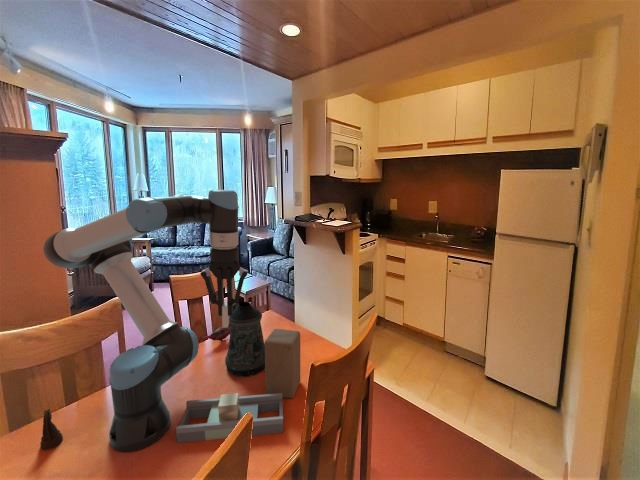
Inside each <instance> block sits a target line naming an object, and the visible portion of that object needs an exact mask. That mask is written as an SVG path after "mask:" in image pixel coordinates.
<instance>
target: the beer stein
mask: <svg viewBox="0 0 640 480" xmlns="http://www.w3.org/2000/svg"><path fill="white" fill-rule="evenodd" d="M262 318H263V313H262V312H261V311H260V310H259V309H257V308H256V307H255V306H253V305H251V303H250V302H249V301H241V302H238V303H236V304H233V312H232V315H231V316H229V321H230V325H231V330H230V334H229V338H228V348H227V353H226V356H225V360H224V363H225V366H226V370H227V372H228V373H229V374H231V375H232V376H235V377H238V378H245V377H246V378H247V377H248V378H249V377H251V376H257V375H258V374H259V373H262V372H263V371H265V340H264V336H263V335H264V333H263V330H262V329H263V328H262V324H261V323H262V322H261V321H262Z"/></svg>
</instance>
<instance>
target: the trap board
mask: <svg viewBox="0 0 640 480" xmlns="http://www.w3.org/2000/svg"><path fill="white" fill-rule="evenodd" d="M220 398H221V397H216V398H215V397H214V398H205V399H194V400H193V399H191V400H186V403H185V404H186V408H185V411H184V413H183V415H182V418H181V421H180V424H179V425H176V427H175V434H176V435H175V436H176V443H178V444H181V443H190V442H200V441H202V442H203V441H209V440H210V441H211V440H219V439H221V440H222V439H228V438H227V437H228V435H229V434H230V433H231V432H232V430H233V429H234V428H235V426H236V425H237V423H238V422H239V421H240V419H241V418H242V417H243V416H244V415H245V414H246V413H248V412H250V413H251V414H252V415H253V429H252V436H261V435H262V436H263V435H270V434H271V435H272V434H281V433H282V434H283V433H284V411H283V410H284V408H283V407H284V406H283V405H284V402H283V397H282V393H276V394H266V393H263V394H253V395H243V396H242V395H241V396H239V411H238V417H237V420H232V421H221V422H219V411H218V405H219V401H220ZM269 412H270V413H271V412H279V416H270V417H259V414H260V413H269ZM201 417H202V418H207V422H205V423H193V424H189V422H190V420H191V419H190V418H192V419H200V418H201ZM202 418H201V419H202Z"/></svg>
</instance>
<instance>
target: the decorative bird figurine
mask: <svg viewBox="0 0 640 480" xmlns="http://www.w3.org/2000/svg"><path fill="white" fill-rule="evenodd" d="M230 330H231V325H230V321H229V325H228V328H222V325H221V326H220V327H219V328H217V329H216V330H214V331H213V332H212V333H211V334H210V335H207V336H205V335H204V336H203V337H202V336H201V337H199V339H200V340H203V339H205V340H206V339H208V340H209V339H210V340H212V341H219V342H218V344H221V343H224V342H226V341H227V340H228V341H229V338H228V337H229V336H230ZM226 338H227V339H226Z"/></svg>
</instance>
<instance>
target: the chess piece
mask: <svg viewBox="0 0 640 480" xmlns="http://www.w3.org/2000/svg"><path fill="white" fill-rule="evenodd" d="M42 424H43V425H42V436H41V438H40V439H41V441H40V449H41V450H43V451H48V450H51V449H54V448H56V447H58V446H59V445H60V444H61V443H62V442H63V439H64V437H63V434H62V432H61V431H60V429H58V428H57V426H56V424H54V422H52V413H51V409H50V407H49V408H48V409H45V410H44V413H43V420H42Z"/></svg>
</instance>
